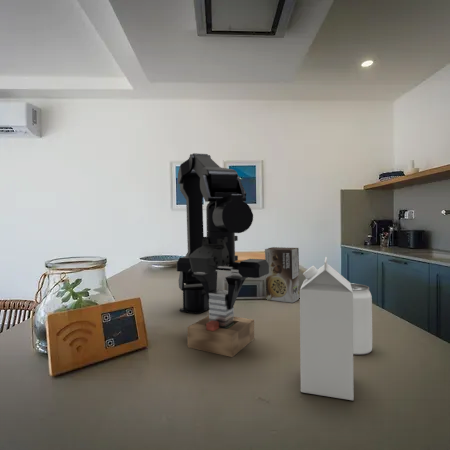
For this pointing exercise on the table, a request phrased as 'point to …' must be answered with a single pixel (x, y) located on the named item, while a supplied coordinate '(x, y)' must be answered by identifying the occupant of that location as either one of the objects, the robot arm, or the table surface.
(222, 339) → the tan stand block
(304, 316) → the milk carton
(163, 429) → the table surface
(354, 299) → the can
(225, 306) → the ratchet post
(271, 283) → the coffee box
